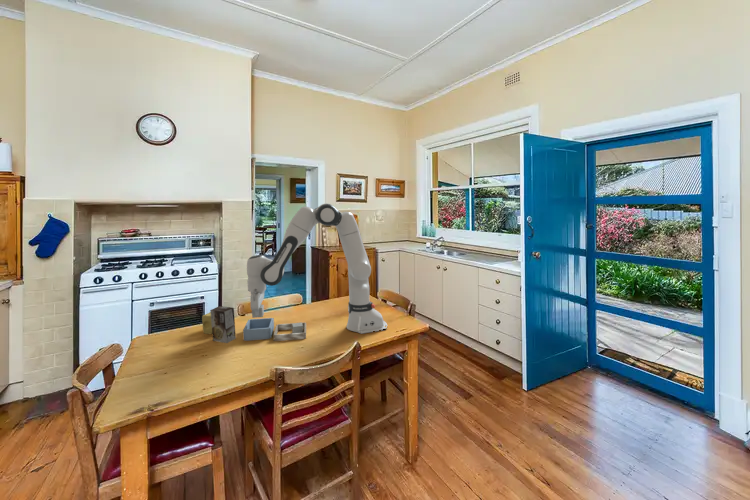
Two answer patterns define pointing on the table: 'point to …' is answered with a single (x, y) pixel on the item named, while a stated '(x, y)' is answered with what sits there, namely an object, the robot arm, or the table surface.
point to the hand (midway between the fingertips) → (258, 312)
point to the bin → (258, 329)
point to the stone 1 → (261, 312)
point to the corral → (288, 336)
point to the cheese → (207, 323)
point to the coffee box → (223, 324)
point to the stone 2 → (297, 328)
